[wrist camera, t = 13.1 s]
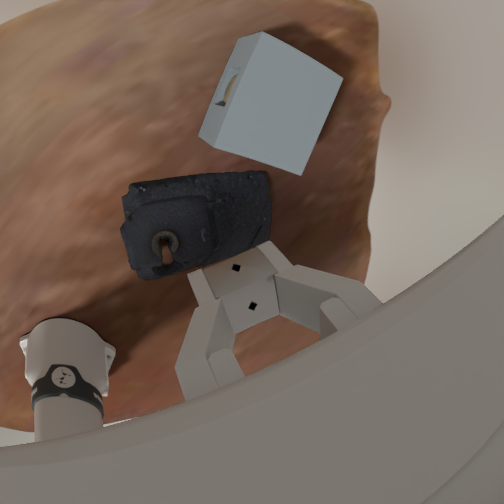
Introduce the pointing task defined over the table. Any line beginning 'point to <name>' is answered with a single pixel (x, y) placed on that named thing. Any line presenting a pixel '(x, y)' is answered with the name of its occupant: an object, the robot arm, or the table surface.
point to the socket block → (270, 103)
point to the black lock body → (194, 220)
